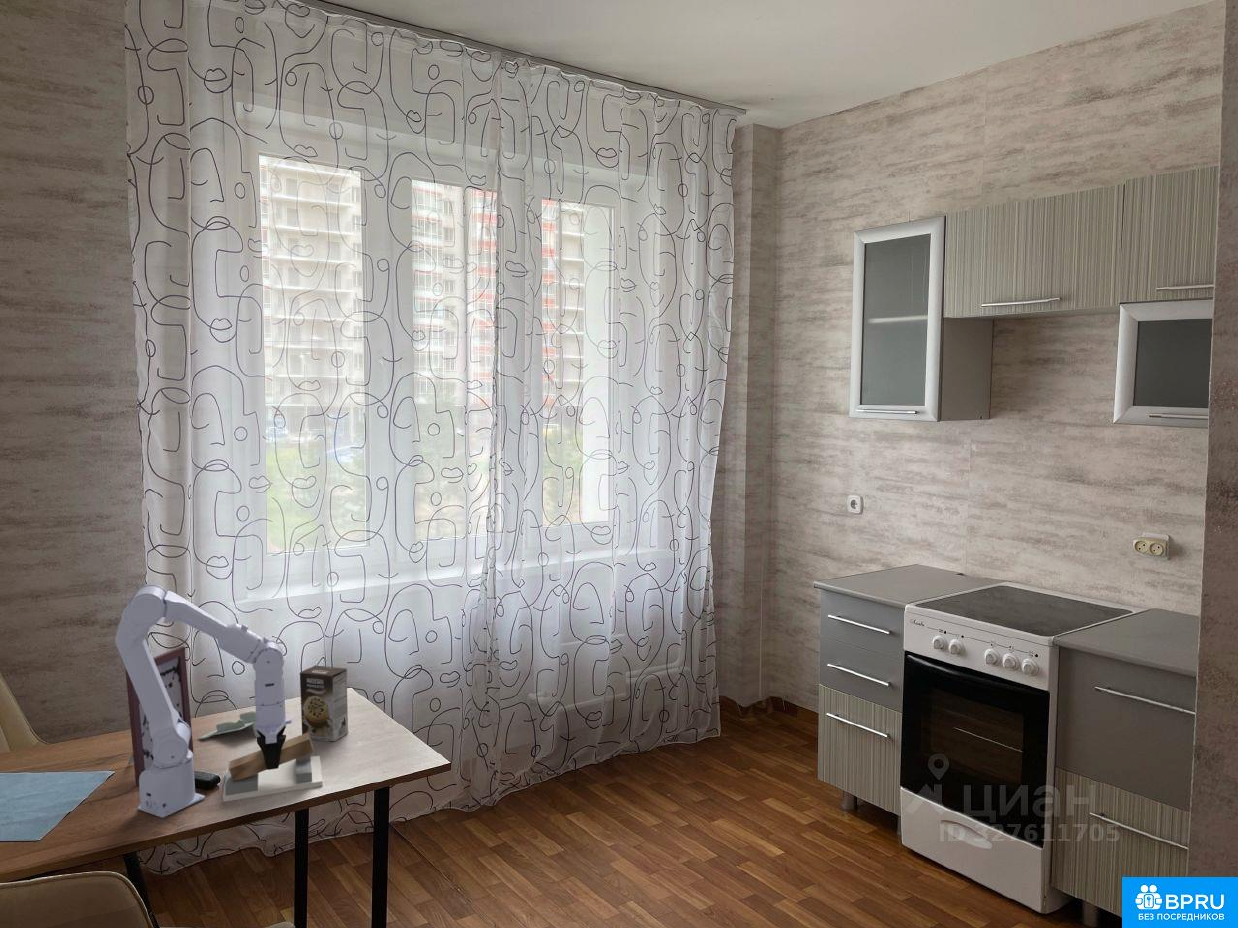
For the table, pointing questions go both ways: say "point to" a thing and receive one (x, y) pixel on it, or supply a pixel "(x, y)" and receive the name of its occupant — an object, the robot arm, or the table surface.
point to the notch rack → (276, 779)
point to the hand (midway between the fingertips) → (272, 764)
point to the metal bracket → (235, 725)
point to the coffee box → (324, 702)
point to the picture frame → (177, 689)
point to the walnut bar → (257, 762)
